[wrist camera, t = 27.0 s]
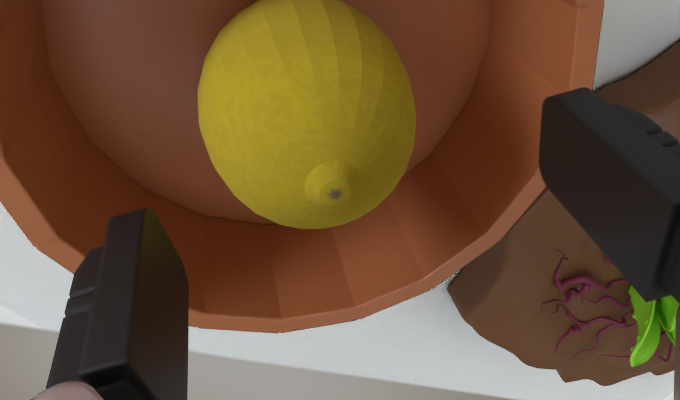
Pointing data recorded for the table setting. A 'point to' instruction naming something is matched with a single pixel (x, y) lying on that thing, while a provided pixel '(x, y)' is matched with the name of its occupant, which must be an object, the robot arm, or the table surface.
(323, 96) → the lemon
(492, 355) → the table surface
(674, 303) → the plant
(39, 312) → the table surface
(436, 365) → the table surface
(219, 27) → the pot
